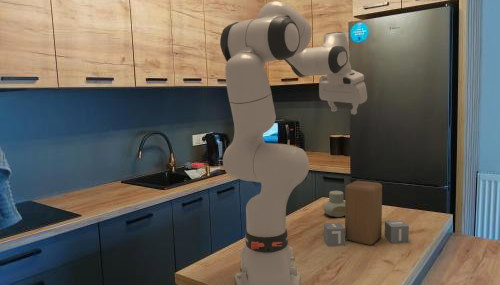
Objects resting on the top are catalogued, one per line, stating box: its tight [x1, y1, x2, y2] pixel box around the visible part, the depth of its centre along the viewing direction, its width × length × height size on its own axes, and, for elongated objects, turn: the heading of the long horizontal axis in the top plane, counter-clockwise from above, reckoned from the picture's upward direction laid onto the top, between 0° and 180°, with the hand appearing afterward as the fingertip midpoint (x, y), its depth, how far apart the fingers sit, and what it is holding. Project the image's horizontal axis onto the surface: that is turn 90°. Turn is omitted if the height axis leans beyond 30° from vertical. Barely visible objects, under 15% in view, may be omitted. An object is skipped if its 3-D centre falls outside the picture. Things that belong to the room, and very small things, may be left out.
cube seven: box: [323, 222, 346, 247], centre depth 134 cm, size 6×6×6 cm
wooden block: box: [344, 179, 383, 246], centre depth 135 cm, size 10×10×20 cm
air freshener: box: [322, 190, 345, 218], centre depth 162 cm, size 11×8×10 cm
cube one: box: [384, 219, 410, 244], centre depth 134 cm, size 6×6×6 cm
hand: (344, 112), depth 145 cm, fingers open, 8 cm apart
